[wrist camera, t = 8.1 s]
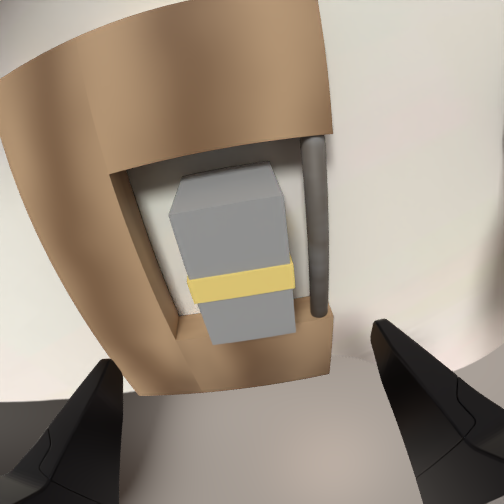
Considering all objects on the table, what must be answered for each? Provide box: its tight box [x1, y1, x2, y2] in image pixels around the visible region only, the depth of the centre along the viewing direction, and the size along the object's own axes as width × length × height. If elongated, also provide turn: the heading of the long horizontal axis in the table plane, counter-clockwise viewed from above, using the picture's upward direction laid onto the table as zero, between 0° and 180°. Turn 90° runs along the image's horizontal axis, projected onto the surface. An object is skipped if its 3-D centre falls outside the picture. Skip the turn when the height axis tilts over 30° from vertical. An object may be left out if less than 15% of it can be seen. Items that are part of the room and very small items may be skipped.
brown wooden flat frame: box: [0, 0, 334, 396], centre depth 15 cm, size 14×22×2 cm, turn 8°
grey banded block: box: [169, 161, 296, 345], centre depth 14 cm, size 4×7×4 cm, turn 8°
